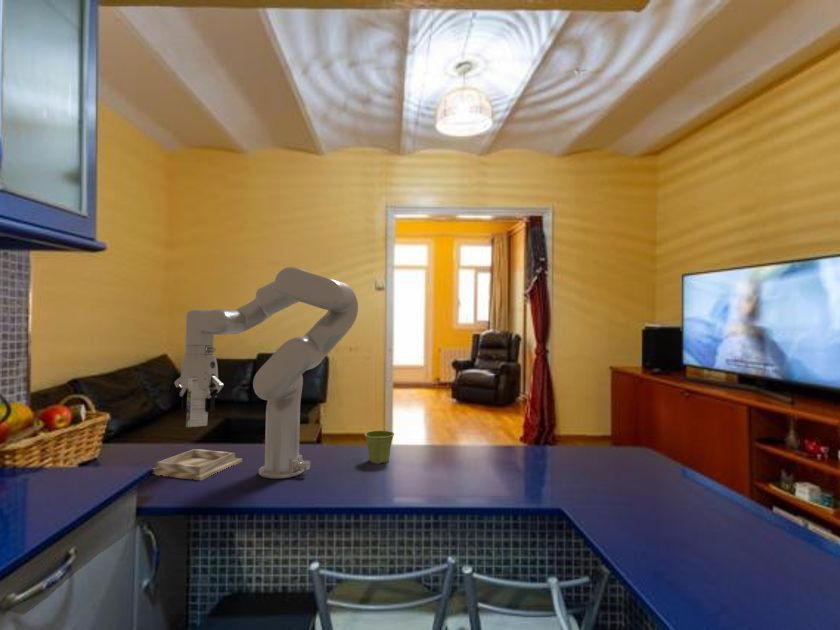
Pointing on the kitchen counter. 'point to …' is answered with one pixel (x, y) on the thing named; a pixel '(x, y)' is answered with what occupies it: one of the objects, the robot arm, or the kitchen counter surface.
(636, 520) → the kitchen counter surface
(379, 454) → the plant pot
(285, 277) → the robot arm
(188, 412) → the syrup box
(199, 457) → the tray
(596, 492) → the kitchen counter surface
